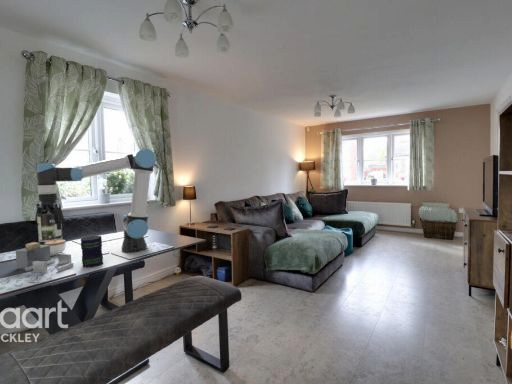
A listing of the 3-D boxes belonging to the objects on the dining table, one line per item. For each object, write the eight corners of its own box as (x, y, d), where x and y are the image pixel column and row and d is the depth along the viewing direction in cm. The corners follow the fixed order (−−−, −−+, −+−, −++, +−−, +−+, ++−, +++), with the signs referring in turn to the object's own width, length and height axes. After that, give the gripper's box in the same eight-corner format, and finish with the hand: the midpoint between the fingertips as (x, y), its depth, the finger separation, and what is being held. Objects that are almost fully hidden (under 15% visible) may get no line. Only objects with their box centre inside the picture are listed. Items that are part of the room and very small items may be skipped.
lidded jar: (49, 257, 163) (48, 242, 162) (42, 254, 169) (41, 240, 168) (69, 252, 172) (68, 238, 171) (61, 250, 178) (60, 236, 177)
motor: (52, 274, 135) (50, 249, 134) (11, 269, 143) (9, 246, 142) (78, 264, 149) (77, 242, 148) (40, 260, 157) (38, 239, 156)
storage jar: (100, 266, 145) (98, 239, 144) (79, 268, 142) (77, 240, 141) (105, 260, 155) (103, 235, 153) (85, 262, 152) (83, 236, 151)
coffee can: (67, 237, 147) (65, 211, 146) (49, 242, 137) (47, 214, 136) (52, 236, 150) (50, 211, 148) (33, 241, 139) (31, 214, 138)
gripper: (71, 192, 142) (73, 234, 144) (39, 192, 148) (42, 232, 150) (56, 194, 135) (60, 238, 137) (24, 193, 141) (27, 235, 143)
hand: (50, 235), depth 143 cm, fingers closed on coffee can, 10 cm apart
